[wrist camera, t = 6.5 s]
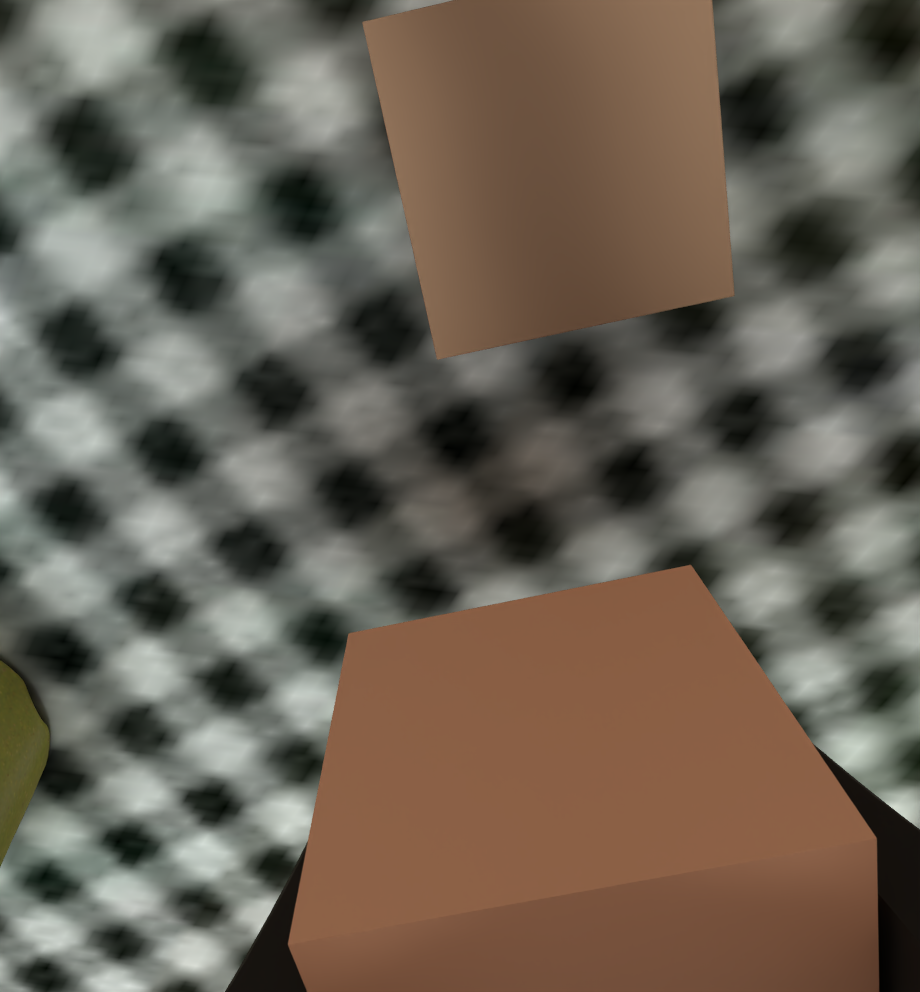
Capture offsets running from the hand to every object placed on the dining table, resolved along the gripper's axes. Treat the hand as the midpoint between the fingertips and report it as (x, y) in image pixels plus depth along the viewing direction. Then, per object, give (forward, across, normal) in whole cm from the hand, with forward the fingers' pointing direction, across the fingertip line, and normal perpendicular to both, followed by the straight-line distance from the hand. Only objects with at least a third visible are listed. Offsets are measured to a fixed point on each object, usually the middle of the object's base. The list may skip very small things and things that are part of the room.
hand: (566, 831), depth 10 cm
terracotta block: (+2, 0, 0) cm, 2 cm away
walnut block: (+10, -2, -8) cm, 13 cm away
